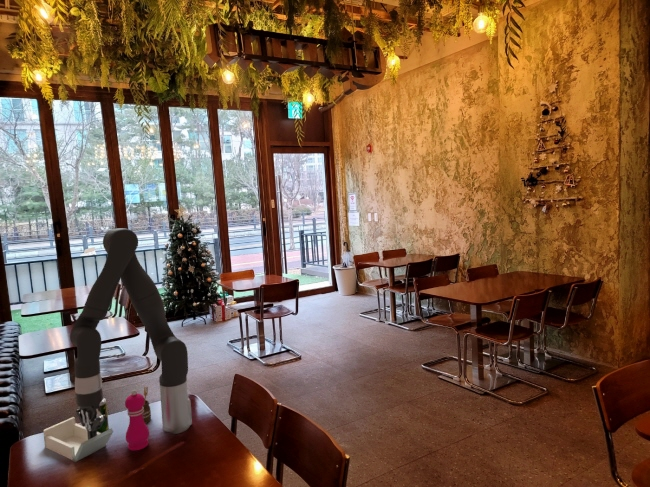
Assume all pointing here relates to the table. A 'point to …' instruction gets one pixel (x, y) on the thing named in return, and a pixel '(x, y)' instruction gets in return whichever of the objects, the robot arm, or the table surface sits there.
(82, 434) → the tray
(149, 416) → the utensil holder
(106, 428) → the beer can
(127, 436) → the pepper mill
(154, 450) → the table surface
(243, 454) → the table surface
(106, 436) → the panel
